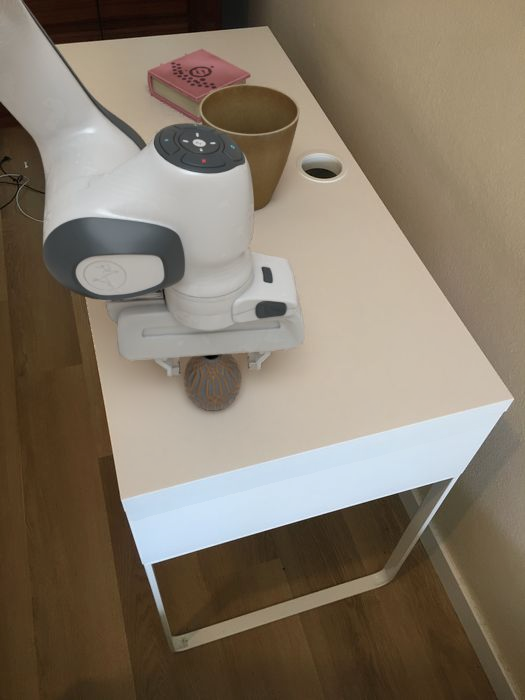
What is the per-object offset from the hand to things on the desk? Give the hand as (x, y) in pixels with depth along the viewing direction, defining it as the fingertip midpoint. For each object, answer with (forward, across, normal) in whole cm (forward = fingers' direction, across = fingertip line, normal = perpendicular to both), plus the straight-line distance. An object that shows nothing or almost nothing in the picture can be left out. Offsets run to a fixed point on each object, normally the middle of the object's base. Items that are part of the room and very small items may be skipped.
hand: (214, 368), depth 68 cm
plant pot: (+6, +8, +40) cm, 41 cm away
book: (+6, +1, +74) cm, 74 cm away
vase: (+6, 0, 0) cm, 6 cm away
